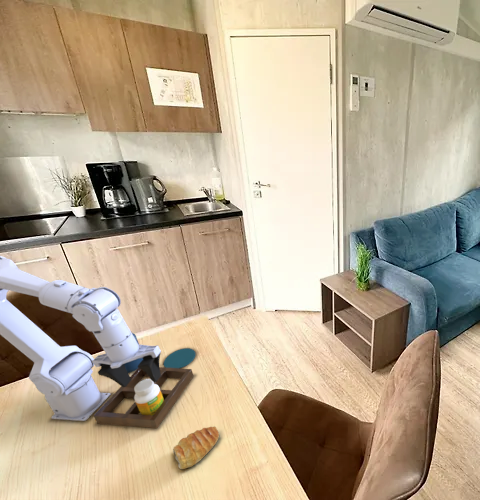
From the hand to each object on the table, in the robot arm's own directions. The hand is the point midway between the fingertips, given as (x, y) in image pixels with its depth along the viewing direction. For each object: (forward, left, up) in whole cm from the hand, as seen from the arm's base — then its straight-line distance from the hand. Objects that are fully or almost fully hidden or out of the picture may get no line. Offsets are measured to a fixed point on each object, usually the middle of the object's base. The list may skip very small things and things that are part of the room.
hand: (142, 381), depth 71 cm
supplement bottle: (0, 0, -11) cm, 11 cm away
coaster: (-4, +18, -11) cm, 22 cm away
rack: (-4, +4, -11) cm, 12 cm away
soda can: (-17, +14, -11) cm, 25 cm away
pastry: (+16, -9, -11) cm, 22 cm away
